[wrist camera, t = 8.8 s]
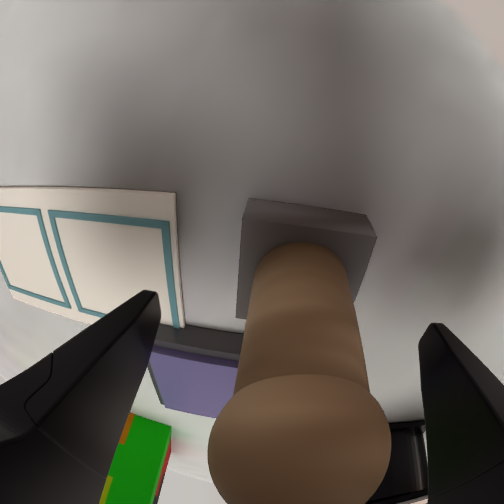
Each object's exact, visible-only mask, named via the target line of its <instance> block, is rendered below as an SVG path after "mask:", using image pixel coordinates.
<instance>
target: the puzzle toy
mask: <svg viewBox="0 0 504 504" xmlns="http://www.w3.org/2000/svg"><path fill="white" fill-rule="evenodd" d="M170 454H171V426H168V425H165V424H162V423H158V422H155V421H152V420H149V419H146V418H143V417H141V416H138V415H135V414H132V413H129V415H128V418H127V421H126V423H125V426H124V429H123V432H122V435H121V437H120V440H119V443H118V446H117V449H116V452H115V455H114V458H113V461H112V464H111V467H110V470H109V473H108V476H107V478H106V483H105V486H104V489H103V492H102V495H101V499H100V502H99V504H157V503H158V499H159V495H160V491H161V487H162V483H163V479H164V476H165V472H166V468H167V465H168V461H169V457H170Z"/></svg>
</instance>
